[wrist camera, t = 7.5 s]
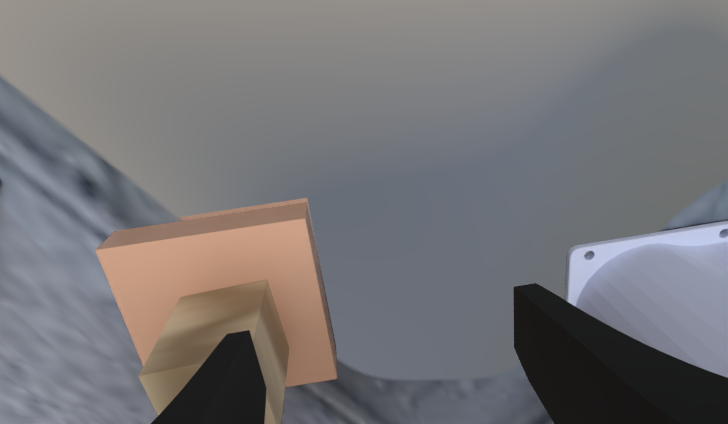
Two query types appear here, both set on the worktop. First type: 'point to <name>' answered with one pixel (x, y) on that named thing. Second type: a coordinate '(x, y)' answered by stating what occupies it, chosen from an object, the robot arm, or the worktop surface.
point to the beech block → (206, 330)
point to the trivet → (227, 275)
